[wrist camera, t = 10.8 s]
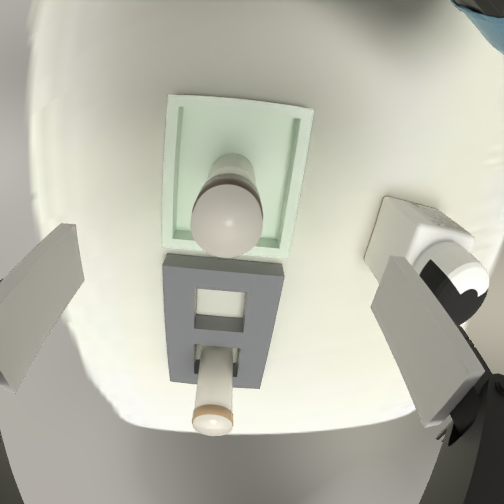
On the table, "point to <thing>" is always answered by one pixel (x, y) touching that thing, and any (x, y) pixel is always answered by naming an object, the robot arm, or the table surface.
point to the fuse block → (219, 328)
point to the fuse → (214, 392)
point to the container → (430, 254)
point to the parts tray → (240, 142)
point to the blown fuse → (228, 209)
